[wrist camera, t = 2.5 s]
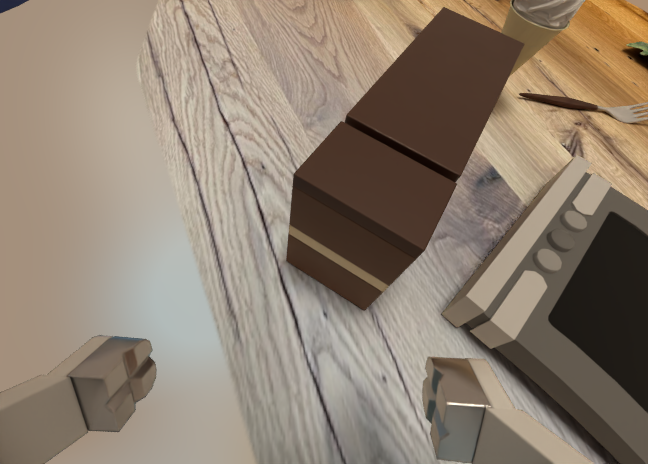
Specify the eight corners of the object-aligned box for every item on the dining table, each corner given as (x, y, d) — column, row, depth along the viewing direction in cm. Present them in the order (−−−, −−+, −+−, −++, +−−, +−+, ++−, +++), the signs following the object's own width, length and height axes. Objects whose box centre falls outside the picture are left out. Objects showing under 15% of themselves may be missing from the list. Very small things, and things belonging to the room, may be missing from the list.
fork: (513, 90, 34) (526, 73, 32) (642, 112, 35) (661, 97, 34) (519, 106, 33) (533, 89, 31) (653, 128, 34) (673, 113, 32)
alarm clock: (577, 154, 24) (830, 299, 19) (537, 192, 28) (739, 320, 23) (466, 295, 17) (824, 591, 12) (433, 319, 21) (693, 550, 16)
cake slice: (364, 310, 19) (424, 250, 12) (285, 260, 20) (293, 173, 13) (390, 262, 21) (457, 183, 14) (317, 218, 22) (341, 120, 14)
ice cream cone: (492, 81, 34) (629, -119, 21) (513, 113, 32) (681, -89, 19) (451, 80, 33) (568, -131, 20) (470, 113, 31) (615, -100, 18)
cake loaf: (393, 257, 22) (460, 176, 14) (321, 214, 22) (346, 114, 15) (455, 142, 28) (525, 43, 20) (398, 112, 29) (443, 6, 21)
